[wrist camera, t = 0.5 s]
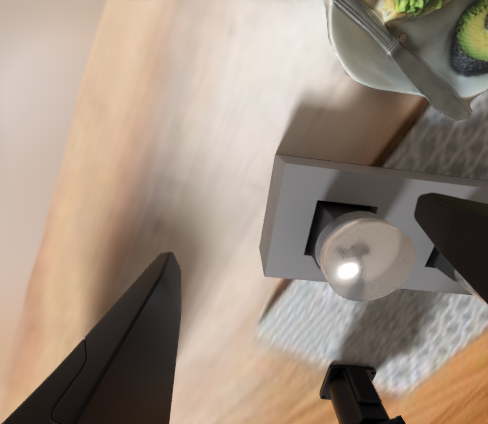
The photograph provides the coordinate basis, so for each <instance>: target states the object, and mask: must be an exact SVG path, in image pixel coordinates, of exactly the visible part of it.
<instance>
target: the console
mask: <svg viewBox="0 0 488 424" xmlns="http://www.w3.org/2000/svg"><path fill="white" fill-rule="evenodd" d="M431 192H434V193H439V194H443V195H448V196H453V197H458V198H462V199H467V200H472V201H476V202H481V203H486V204H488V181H484V180H476V179H468V178H460V177H453V176H445V175H437V174H429V173H421V172H413V171H405V170H397V169H390V168H382V167H374V166H366V165H358V164H350V163H342V162H334V161H327V160H319V159H311V158H303V157H295V156H287V155H279V154H275V159H274V165H273V171H272V177H271V183H270V189H269V195H268V200H267V206H266V212H265V218H264V224H263V230H262V236H261V241H260V247H259V248H260V254H261V260H262V266H263V271H264V276H265V277H276V278H288V279H299V280H310V281H321V282H328V281H327V279H326V277H325V275H324V274H323V272H322V270H321V269H318V267H317V265H316V263H315V261H314V260H313V258H312V256H311V254H310V252H309V250H308V249H307V248H306V244H307V240H308V236H309V232H310V227H311V223H312V219H313V215H314V211H315V207H316V203H317V200H322V201H331V202H339V203H348V204H357V205H366V206H371V207H370V210H371V211H373V212H374V213H376V214H377V215H379V216H380V217H381V218H383V219H384V220H386V221H387V222H389V223H390V224H392V225H393V226H395V227H396V228H398V229H399V230H401V231H402V232H404V233H405V234H406V235H407V236H408V237H409V238H410V239H411V241H412V242H413V245H414V247H415V252H416V259H415V265H414V268H413V270H412V272H411V274H410V276H409V277H408V279H407V280H406V281H405V282H404V283H403V284H402V285H401V286H400V287H399V289H410V290H422V291H433V292H444V293H455V294H466V295H473V294H472V293H470V292H469V291H467V290H466V289H465V288H463V287H462V286H461V285H460V284H459V283H458V282H455V281H453V280H452V279H450V278H449V277H448V276H446V275H445V274H444V273H442V272H441V271H440V270H438V269H437V268H436V267H434V266H433V265H432V264H430V263H429V262H428V261H427V260H428V258H429V256H430V254H431V252H432V250H433V248H434V244H433V243H432V242H431V240H430V239H429V238H428V236H427V235H426V234H425V232H424V231H423V230H422V228H421V227H420V226H419V224H418V223H417V222H416V220H415V218H414V212H415V207H416V203H417V199H418V197H419V196H420V195H422V194H426V193H431Z"/></svg>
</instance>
